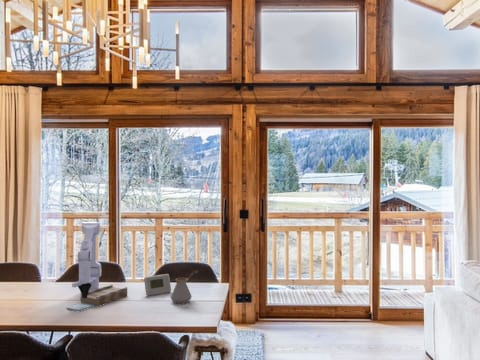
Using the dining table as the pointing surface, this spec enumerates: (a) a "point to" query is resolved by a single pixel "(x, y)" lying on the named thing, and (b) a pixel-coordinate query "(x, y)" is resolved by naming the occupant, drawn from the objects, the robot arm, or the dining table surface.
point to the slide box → (104, 295)
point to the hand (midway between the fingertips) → (84, 297)
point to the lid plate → (80, 306)
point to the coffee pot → (181, 291)
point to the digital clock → (157, 284)
